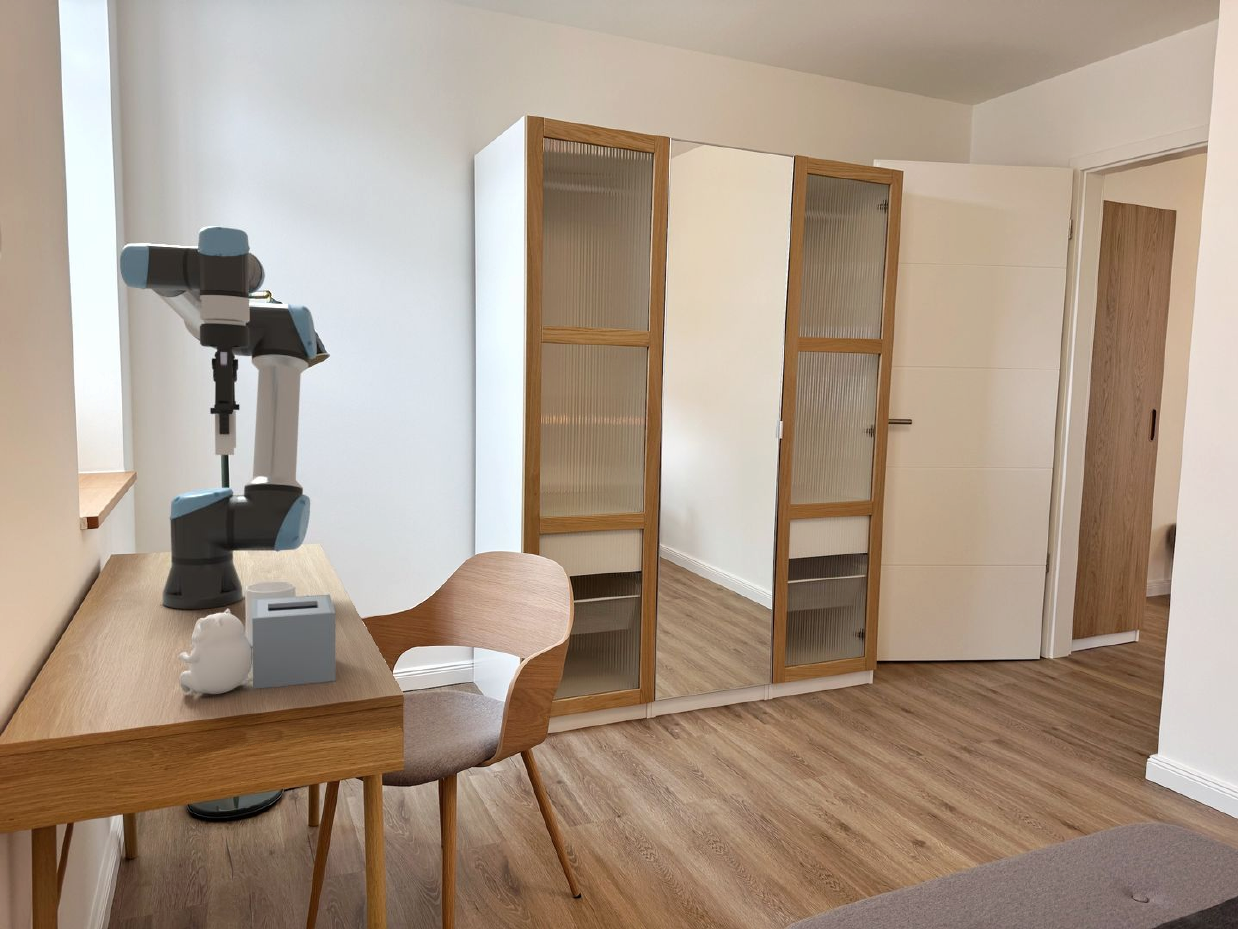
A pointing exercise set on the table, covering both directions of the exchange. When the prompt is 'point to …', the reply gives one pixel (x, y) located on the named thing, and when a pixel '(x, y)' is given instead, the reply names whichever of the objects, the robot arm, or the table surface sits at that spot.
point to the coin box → (293, 641)
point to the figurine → (217, 655)
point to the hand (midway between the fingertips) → (226, 451)
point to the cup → (261, 592)
